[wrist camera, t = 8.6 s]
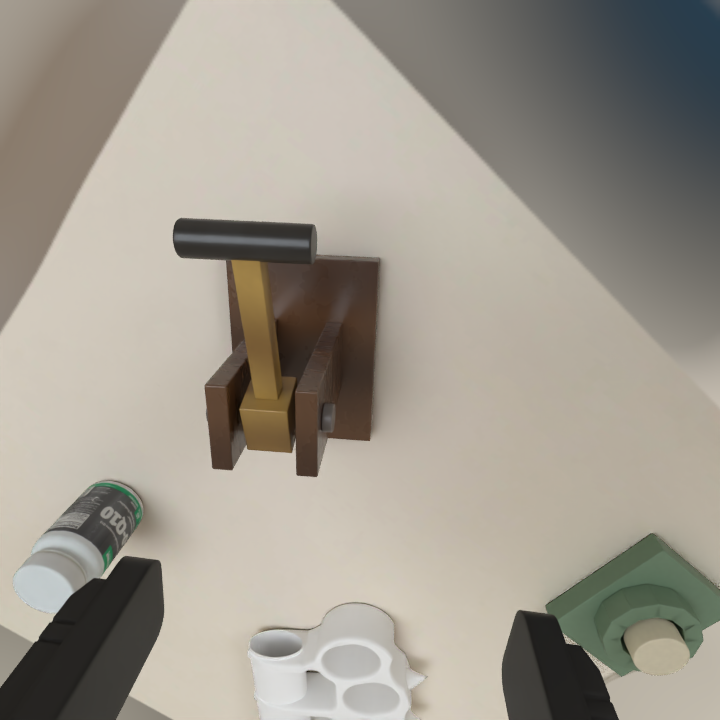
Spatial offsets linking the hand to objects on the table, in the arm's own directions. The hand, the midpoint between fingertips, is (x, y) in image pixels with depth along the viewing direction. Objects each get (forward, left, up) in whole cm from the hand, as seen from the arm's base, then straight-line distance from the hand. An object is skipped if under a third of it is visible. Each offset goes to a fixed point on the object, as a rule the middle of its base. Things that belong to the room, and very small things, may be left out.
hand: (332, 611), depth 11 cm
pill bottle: (+16, -20, -22) cm, 34 cm away
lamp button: (+21, +20, -19) cm, 35 cm away
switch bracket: (+2, -5, -22) cm, 22 cm away
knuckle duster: (+33, -2, -22) cm, 40 cm away
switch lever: (-2, -5, -13) cm, 14 cm away
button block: (+21, +20, -22) cm, 37 cm away
